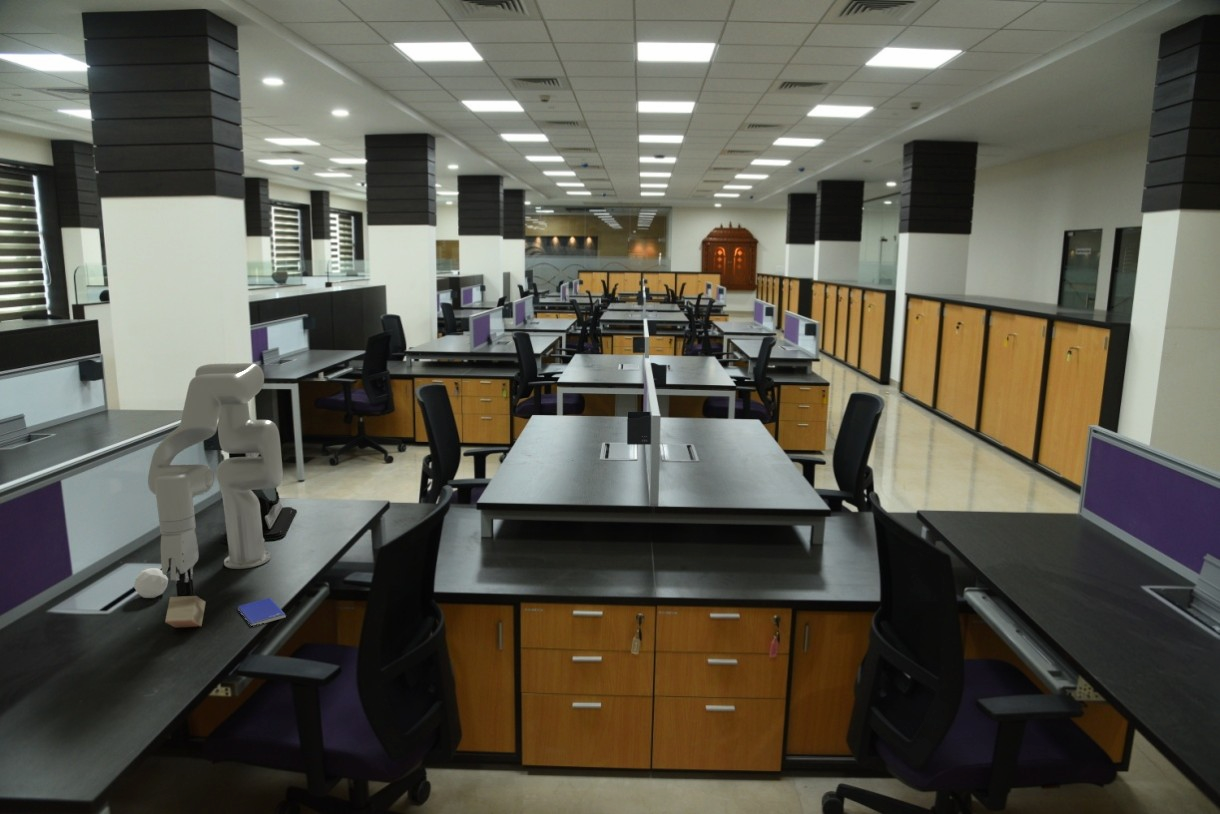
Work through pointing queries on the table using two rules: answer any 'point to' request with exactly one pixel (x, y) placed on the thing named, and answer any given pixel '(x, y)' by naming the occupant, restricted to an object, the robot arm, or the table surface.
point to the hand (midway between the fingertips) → (186, 595)
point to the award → (270, 510)
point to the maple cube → (185, 611)
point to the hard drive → (261, 611)
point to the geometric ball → (151, 583)
